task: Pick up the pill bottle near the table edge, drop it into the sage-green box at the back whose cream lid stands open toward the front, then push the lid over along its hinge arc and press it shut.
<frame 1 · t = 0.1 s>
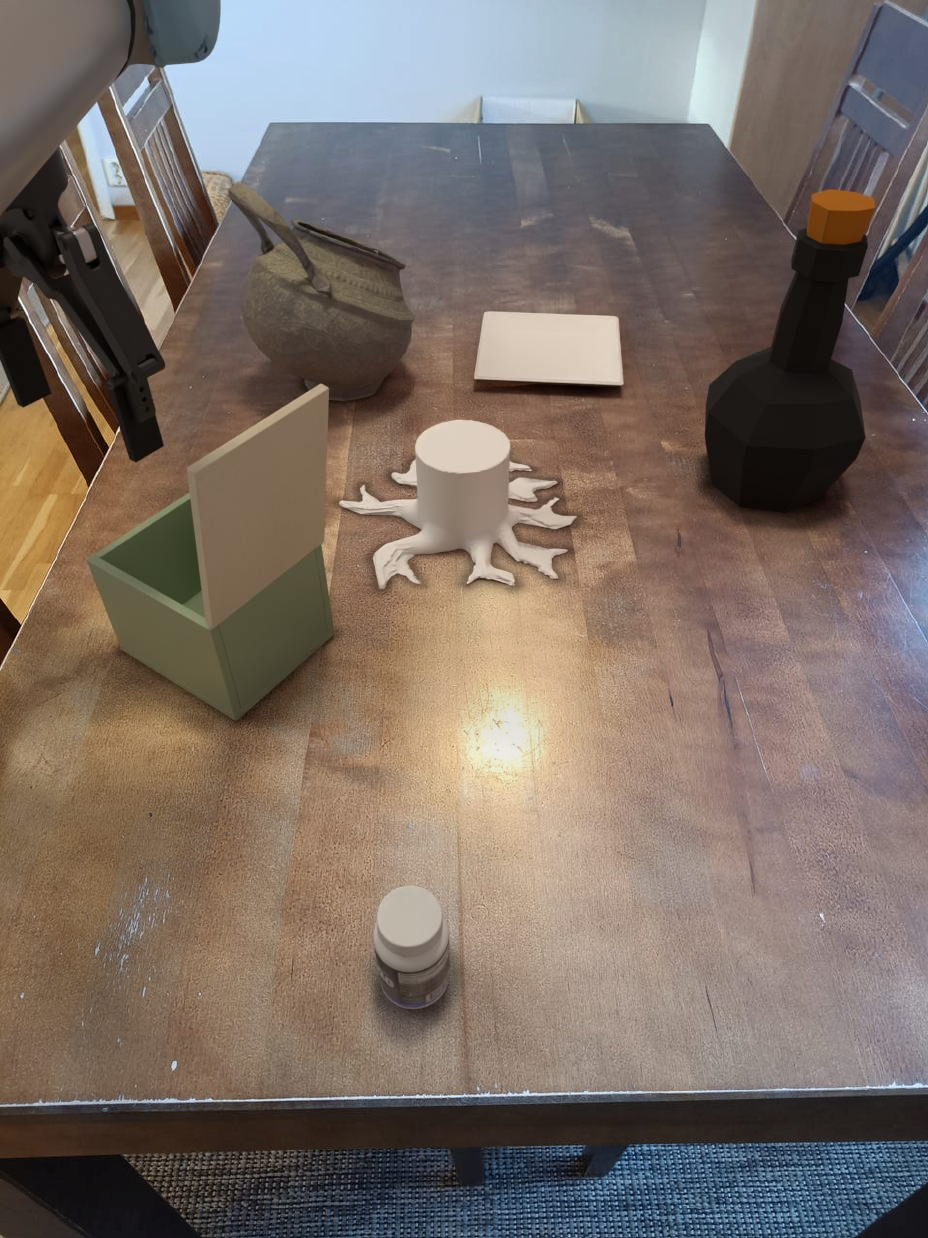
hand: (88, 425, 70), 20 cm above the table, tool pointing down, fingers open, 13 cm apart
pot: (337, 384, 115), on the table
lid: (265, 509, 65), point 19 cm above the table, hinge at 100.0°
white tree stump: (458, 519, 95), on the table
box: (228, 642, 82), on the table
plate: (548, 360, 120), on the table
bottle: (764, 481, 100), on the table
pill bottle: (414, 977, 60), on the table
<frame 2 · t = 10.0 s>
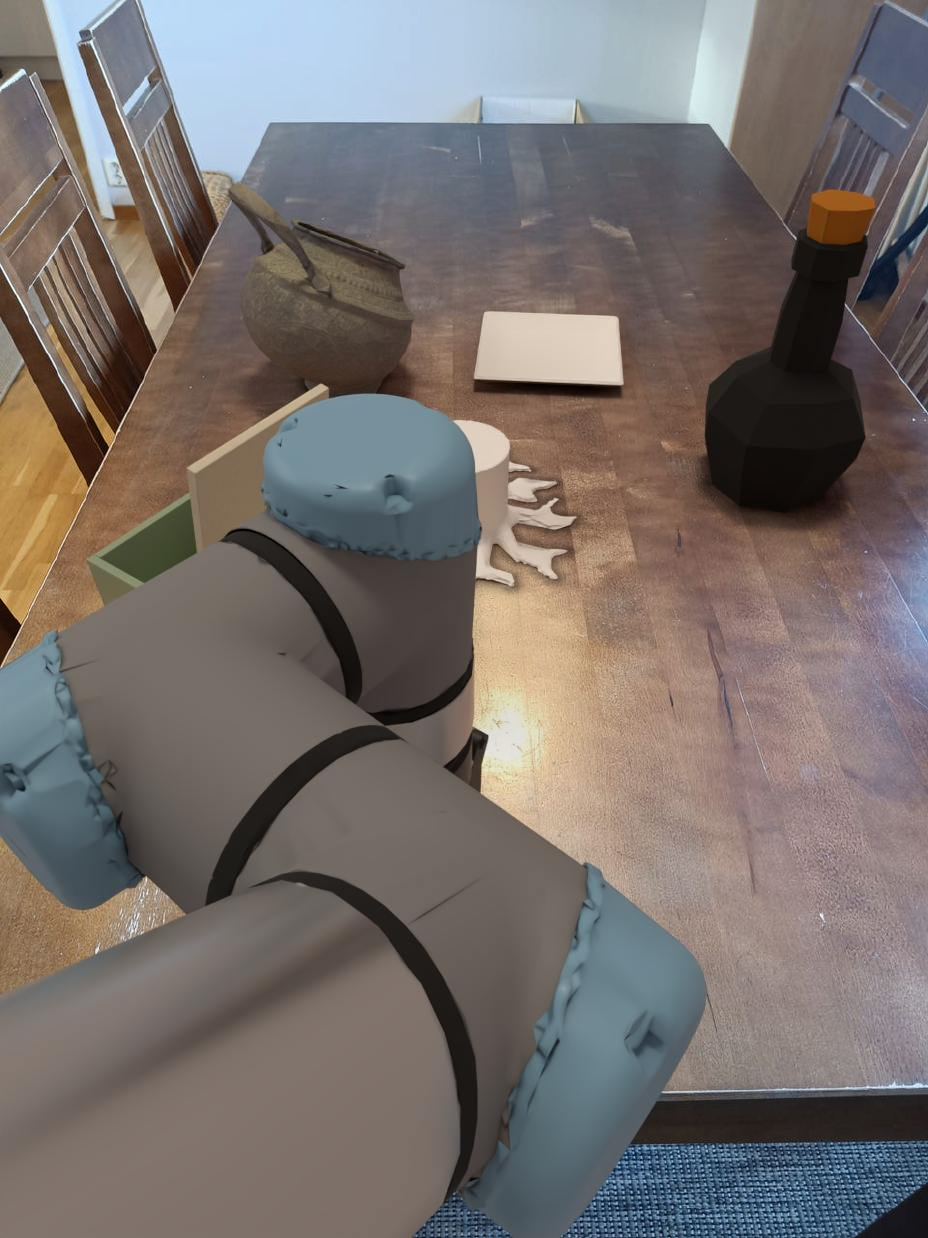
hand: (408, 958, 57), 3 cm above the table, tool pointing down, fingers closed on pill bottle, 5 cm apart
pill bottle: (408, 963, 57), point 3 cm above the table, touching gripper
everything else where it was.
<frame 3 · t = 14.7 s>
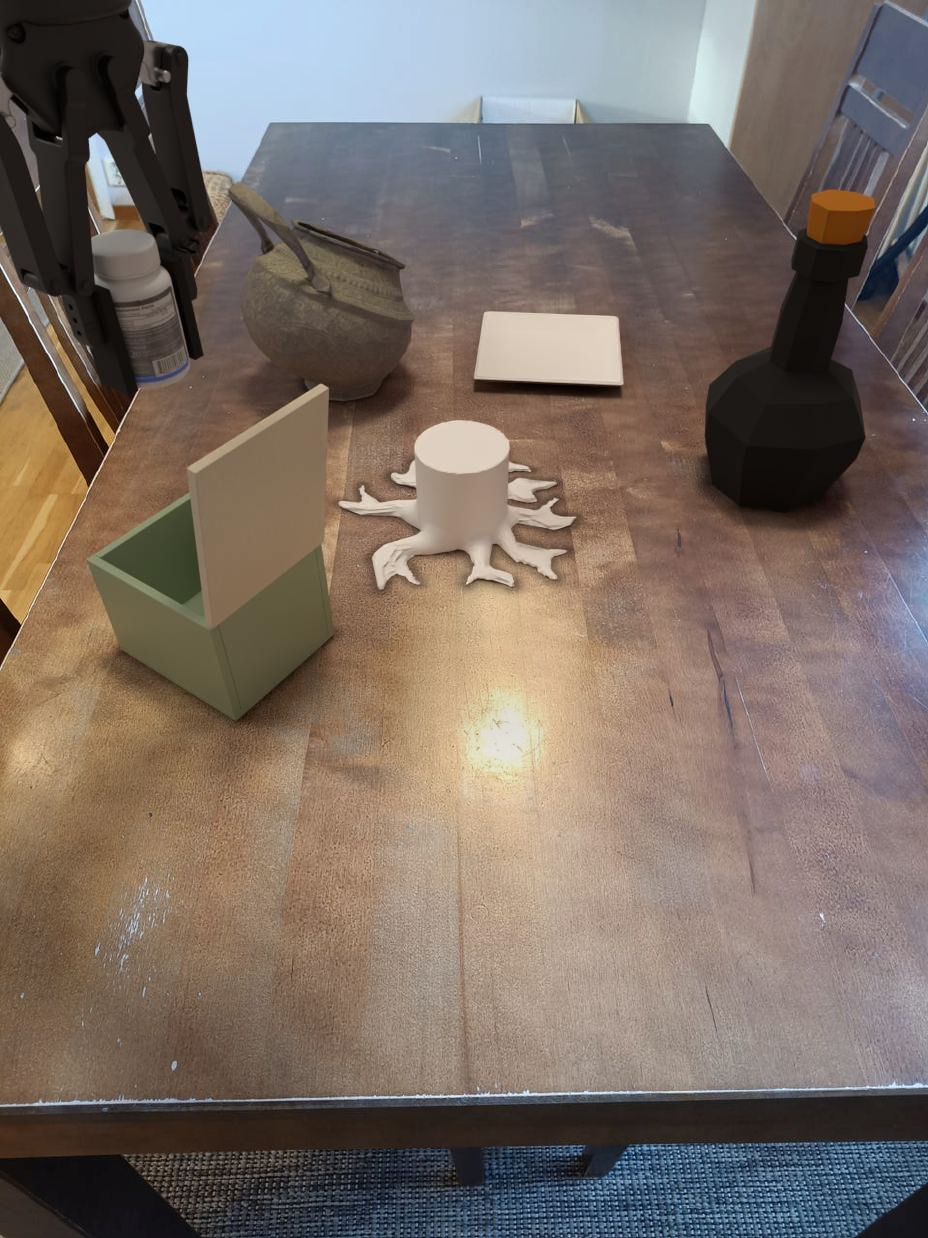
hand: (153, 368, 58), 30 cm above the table, tool pointing down, fingers closed on pill bottle, 5 cm apart
pill bottle: (155, 375, 58), point 29 cm above the table, touching gripper
everything else where it was.
when the fingers open (8 cm above the table, at t = 19.4 s): pill bottle drops 7 cm, resting on box.
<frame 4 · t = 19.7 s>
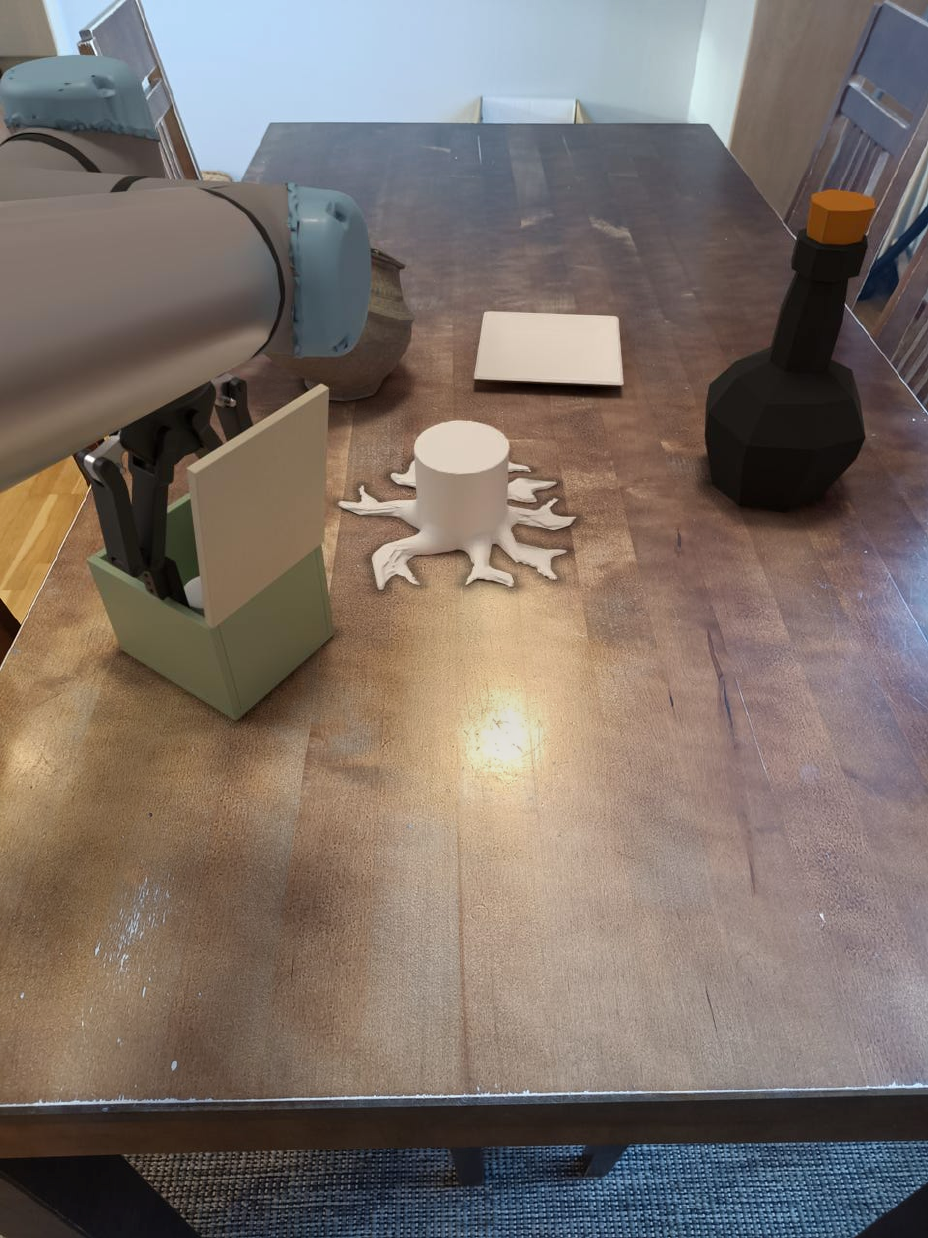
hand: (214, 590, 75), 8 cm above the table, tool pointing down, fingers open, 7 cm apart
pill bottle: (223, 660, 79), point 1 cm above the table, touching box
everything else where it was.
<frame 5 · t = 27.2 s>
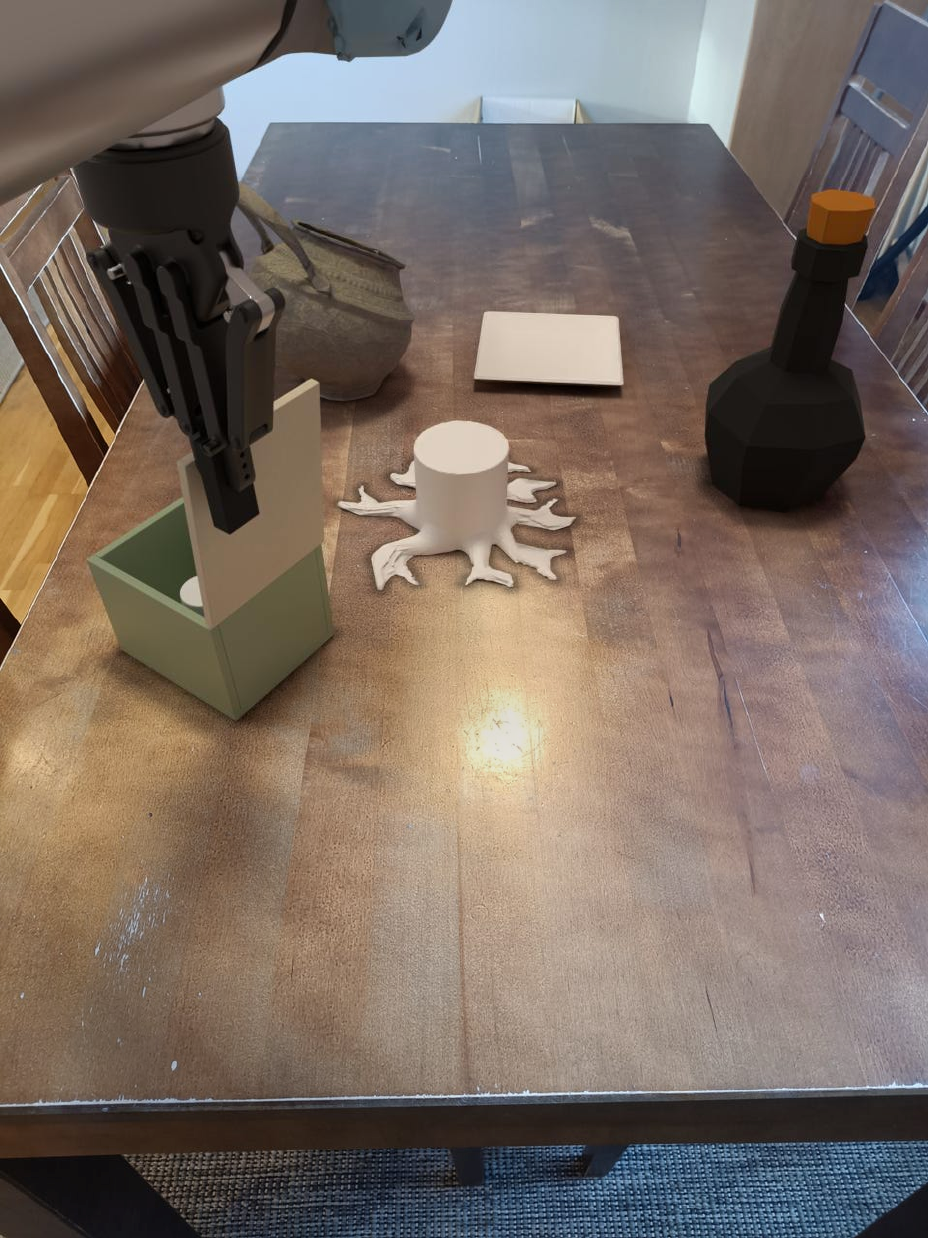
hand: (237, 519, 59), 22 cm above the table, tool pointing down, fingers closed
lid: (260, 507, 65), point 19 cm above the table, hinge at 96.7°, touching gripper
everything else where it was.
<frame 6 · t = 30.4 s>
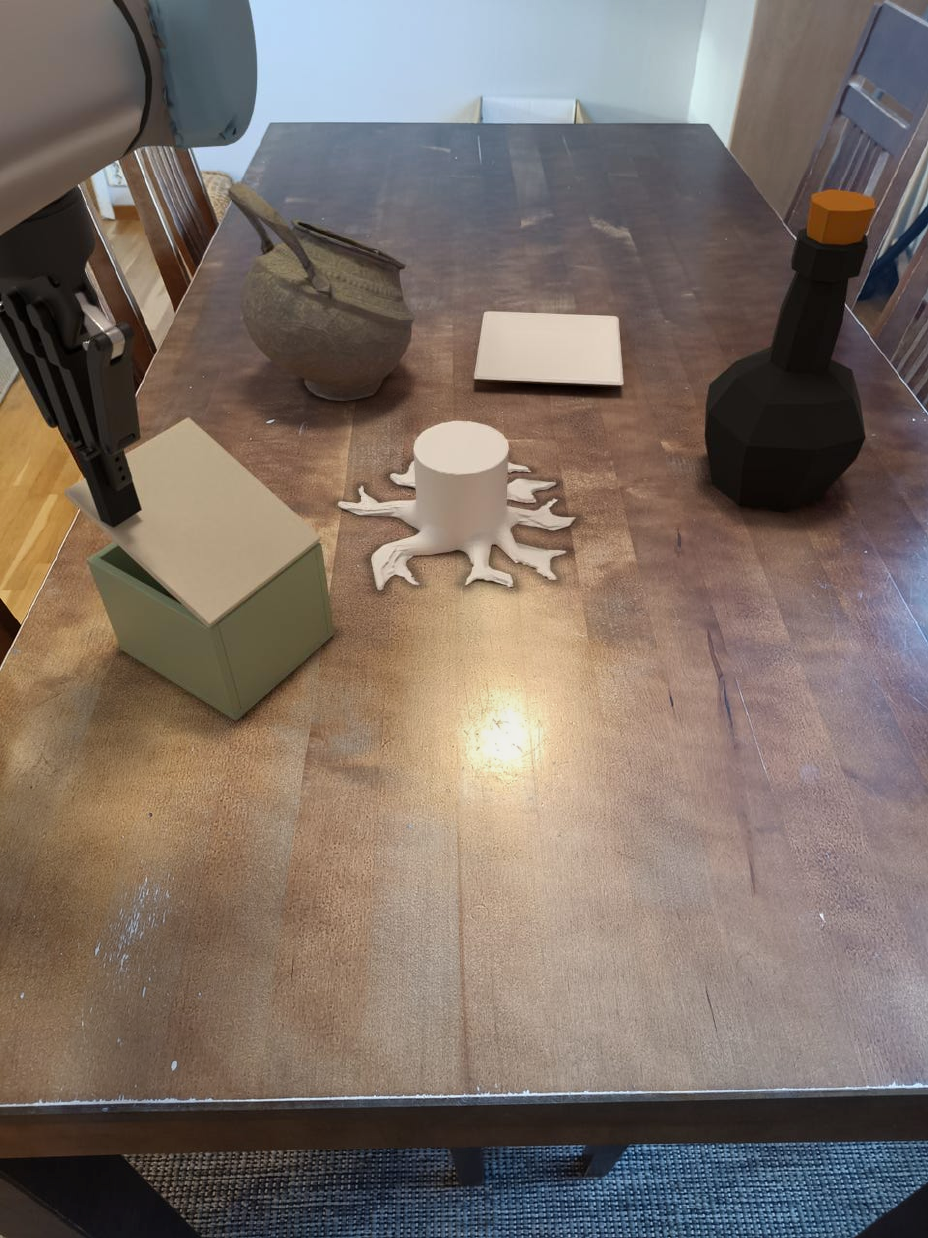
hand: (121, 515, 68), 17 cm above the table, tool pointing down, fingers closed
lid: (198, 516, 72), point 15 cm above the table, hinge at 25.1°, touching gripper
everything else where it was.
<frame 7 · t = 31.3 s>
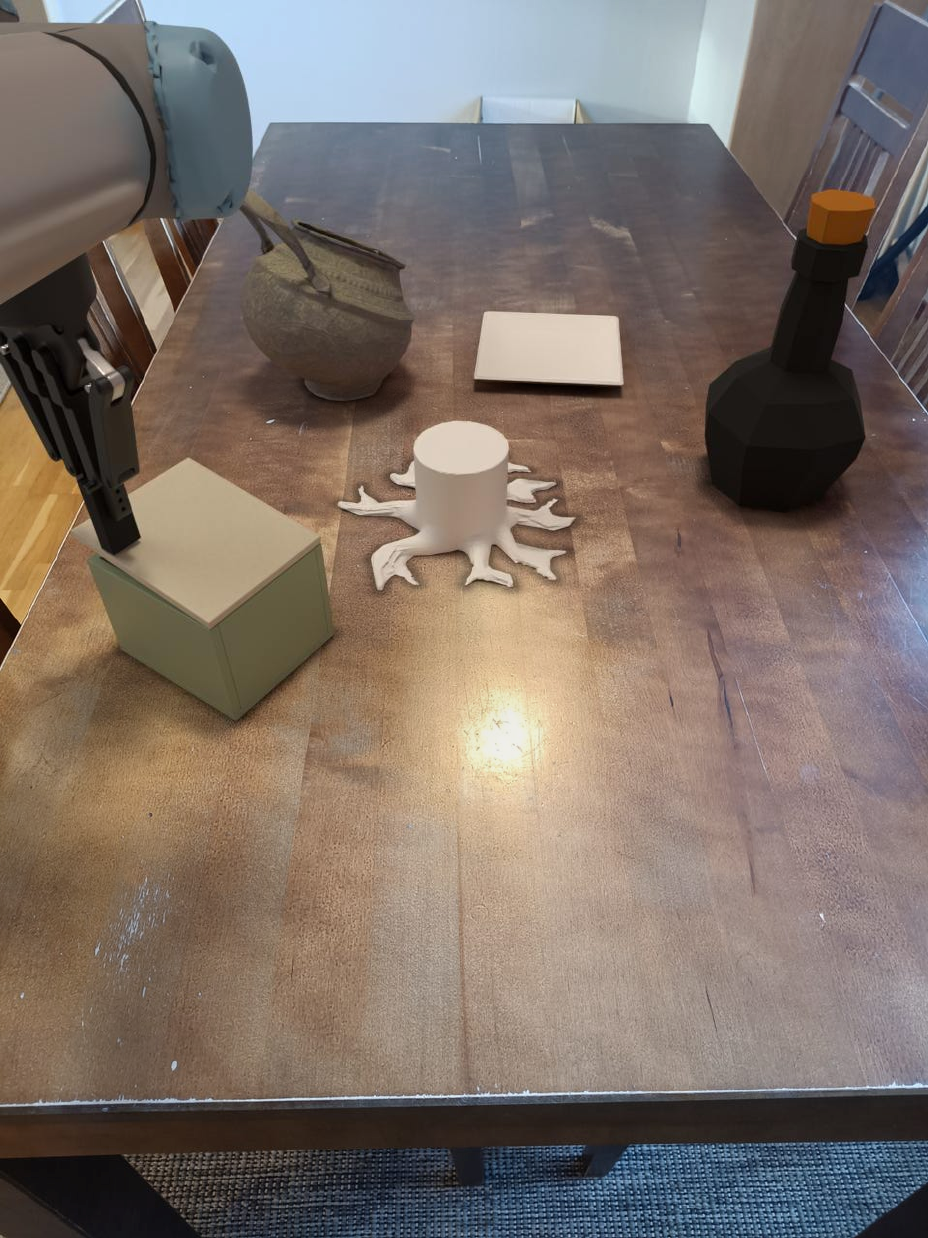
hand: (121, 542, 71), 13 cm above the table, tool pointing down, fingers closed
lid: (198, 536, 73), point 12 cm above the table, hinge at 7.1°, touching gripper
everything else where it was.
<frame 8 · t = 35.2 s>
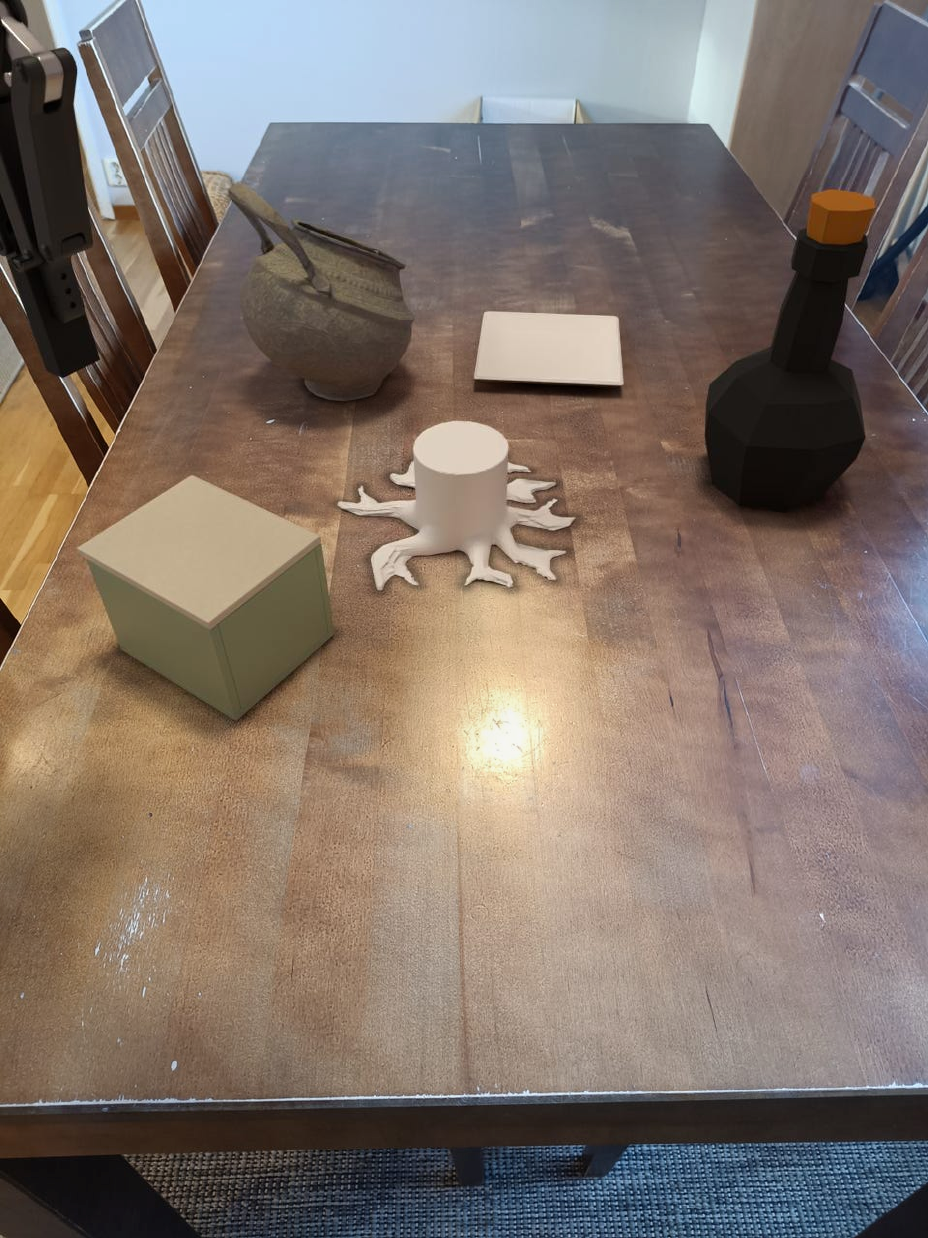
hand: (73, 364, 53), 32 cm above the table, tool pointing down, fingers closed
lid: (200, 545, 74), point 11 cm above the table, hinge at -0.1°
everything else where it was.
at the end: pill bottle inside the target area in the box (2.9 cm from its centre), point 0.6 cm above the box's base; lid at +0° (first picture: +100°) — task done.
